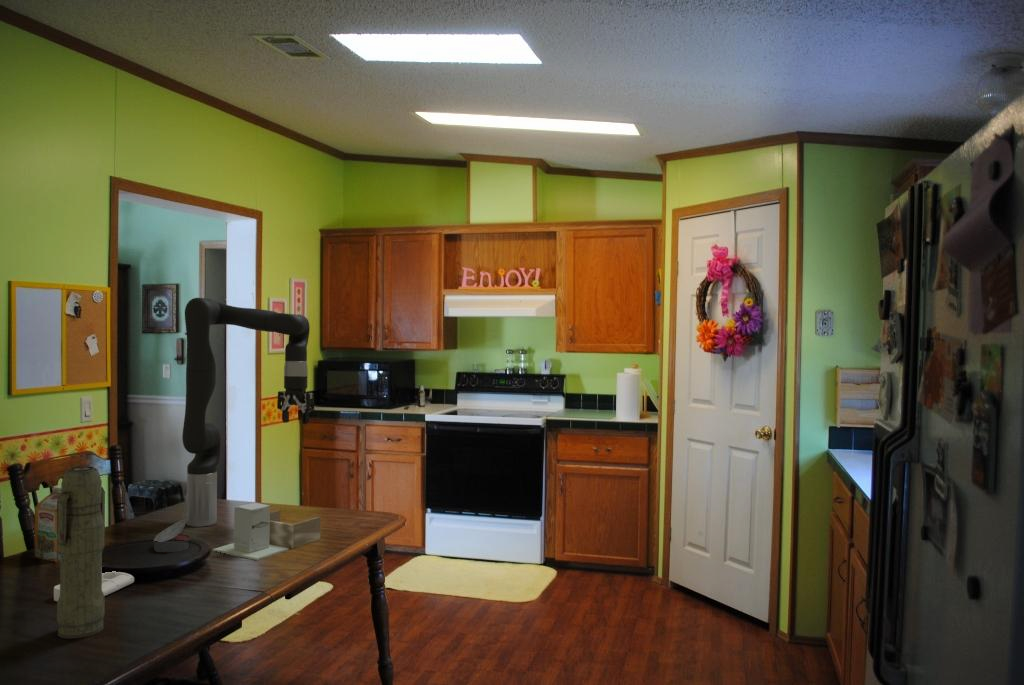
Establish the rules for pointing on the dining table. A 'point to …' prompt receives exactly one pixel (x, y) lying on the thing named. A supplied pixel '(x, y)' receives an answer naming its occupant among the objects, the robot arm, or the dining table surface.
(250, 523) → the supplement box
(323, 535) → the dining table surface
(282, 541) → the box
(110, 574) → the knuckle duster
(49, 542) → the milk carton
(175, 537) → the canned food
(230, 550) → the mat
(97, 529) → the thermos
